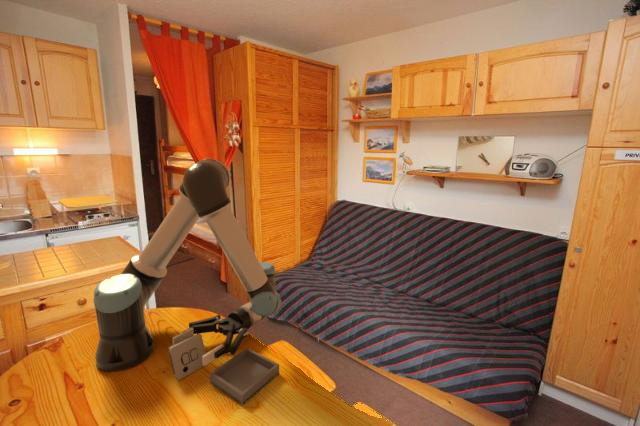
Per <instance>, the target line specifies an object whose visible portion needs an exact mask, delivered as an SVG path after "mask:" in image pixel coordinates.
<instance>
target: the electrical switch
mask: <svg viewBox="0 0 640 426" xmlns="http://www.w3.org/2000/svg"><path fill="white" fill-rule="evenodd" d="M167 353H168V356H169V361H170V365H171V370H172V372H173V374H172V375H174V377H175V379H176V380H177V381H180V380H182V379H184V378H185V377H187V376H189V375H191V374H193V373H194V372H196V371H197V370H199V369H201V368H203V367H205V366H204V365H203V364H202V356H203V355H205V354H206V353H207V352H206V349H205V344H204V341H203V335H202V333H198V334H194V336H193V335H192V336H190V337H188V338H186V339H184V340H182V341H180V342H178V343H176V344H174V345H173V344H172V345H170V346H168V347H167Z"/></svg>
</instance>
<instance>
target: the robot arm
mask: <svg viewBox="0 0 640 426" xmlns="http://www.w3.org/2000/svg"><path fill="white" fill-rule="evenodd" d="M229 183H230V173H229V170H228V168H227V167H226V166H225V164H223V163H222V162H221V161H219V160H217V159H213V158H203V159H201V160H199V161H198V162H195V163H194V164H191V165H190V166H188V168H187V169H186V170H185V172H184V174H183V177H182V182H181V184H180V185H179V187H178V191H179V197H178V198H177V200H176V201H175V202H174V204H173V205H172V207H171V209H170V210H169V211H168V213H167V214H166V216H165V217H164V219H163V221H162V222H161V223H160V225H159V226H158V228H157V229H156V230H155V232H154V234H153V235H152V237H151V238H150V240H149V241H148V243H147V244H146V246H145V247H144V249H143V250H142V251H141V253H137V254H135V255H133V256H132V257H131V259H130V260H129V262H128V263H127V265H126V266H125V268H124V269H123V271H122V272H121V273H120V274H116V275H113V276H110V277H109V278H106V279H104V280H102V281H100V282H99V283H98V284H97V285H96V287H95V288H94V291H93V305H94V308H95V313H96V321H97V325H98V326H97V328H98V332H99V333H98V334H99V339H98V343H97V347H96V351H95V356H94V358H95V365H96V367H97V368H98V369H99V370H101V371H105V372H109V373H110V372H120V371H124V370H129V369H132V368H133V367H137V366H139V365H140V364H142V363H144V362H145V361H147V360H148V359H149V358H150V357H151V356H152V354H153V353H154V351H155V341H154V337H153V335H152V333H151V332H150V331H149V329H148V327H147V325H146V318H145V306H146V305H147V303H148V302H149V301H150V298H151V297H152V296H153V294H154V293H155V292H156V290H158V288H159V286H160V285H161V283H162V281H163V280H164V279H165V277H166V276H167V273H168V270H167V266H168V264H169V263H170V261H171V259H173V257H174V256H175V254H176V252H177V251H178V249H179V248H180V246H181V245H182V243H183V242H184V240H185V239H186V238H187V236H188V235H189V234H190V232H191V230H192V229H193V228H194V226H195V224H196V223H197V222H198V220H199V219H203V220H205V222H206V223H207V226H208V227H209V230H211V232H212V234H213V236H214V237H215V239H216V241H217V243H218V245H219V247H220V248H221V250H222V251H223V253H224V255H225V257H226V258H227V260H228V262H229V263H230V265H231V268H232V269H233V270H234V272H235V274H236V276H237V278H238V279H239V281H240V283H241V285H242V286H243V288H244V290H245V291H246V293H247V296H248V297H249V299H250V301H249V302H247V303H245V304H243V305H242V306H239V307H238V308H236V309H234V310H233V311H231V312H230V313H229V314H228V316H227V317H224V318H222V317H221V314H216V315H215V316H213V317H211V316H210V317H207V318H203V319H200V320H195V321H190V322H189V323H188V328H187V329H185V330H183V331H182V332H181V333H179V334H177V335H174V336H173V337H172V339H171V340H172V341H171V342H172V345H174V344H176V343H178V342H180V341H182V340H184V339H186V338H188V337H190V336H192V335H193V336H194V335H196V334H198V333H199V334H207V333H213V332H214V333H215V334H217V333H220V334H222V335H223V336H225V341H224V342H223V343H220V344H219V345H217V346H216V347H214V348H213V349H211V350H210V351H208V352H205V353H206V354H205V355H203V356H202V364H203V365H204V366H203V367H205V366H207V365H208V364H209V363H211V362H212V361H214V360H215V359H220V358H221V357H223V356H224V355H226V354H230V355H231V356H235V354H236V353H237V351H238V349H239V348H240V347H241V344H242V343H243V340H244V339H246V338H247V337H248V330H249V329H250V328H252V327H254V326H255V325H256V324H259V323H260V322H261V321H264V320H265V319H266V318H269V317H270V316H272V315H274V314H275V313H276V312H277V311H278V310H280V308H281V306H282V305H283V304H282V299H281V295H280V294H279V293H278V292H277V289H276V286H277V285H276V267H275V265H274V264H273V263H271V262H266V261H265V262H263V261H262V262H260V261H259V259H258V257H257V256H256V254H255V251H254V250H253V248H252V246H251V245H250V243H249V240H248V238H247V237H246V235H245V233H244V232H243V229H242V227H241V226H240V224H239V222H238V220H237V218H236V216H235V214H234V212H233V211H232V209H231V203H232V201H231V200H230V198H229V194H228V192H227V190H226V189H227V188H228V186H229ZM235 335H236V336H235ZM234 336H235V338H234ZM233 339H234V340H233Z"/></svg>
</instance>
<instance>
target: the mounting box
mask: <svg viewBox="0 0 640 426" xmlns="http://www.w3.org/2000/svg"><path fill="white" fill-rule="evenodd" d="M278 375H280V364H279V363H277V362H275V361H274V360H271V359H270V358H268V357H265V356H264V355H262V354H260V353H259V352H256V351H254V350H252V349H251V348H250V347H246V348H244V349H243V350H242V351H239V353H237V354H236V355H233V357H232V358H230V359H228V360H226V362H224V363H223V364H221V365H220V366H219V367H216V368H215V369H214V370H212V371H211V372H209V384H211V385H212V386H214V387H215V388H217V390H219V391H221V392H222V393H224V394H225V395H227V396H228V397H230V398H231V399H233V400H234V401H235V402H237V403H238V404H240V405H242V406H244V405H246V403H247V402H249V400H250V399H253V397H254V396H255V395H256V394H258V393H259V392H260V391H261V390H262V389H264V387H266V386H267V385H268V384H269V383H271V382H272V381H273V380H274V379H275V378H276V377H278Z"/></svg>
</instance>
